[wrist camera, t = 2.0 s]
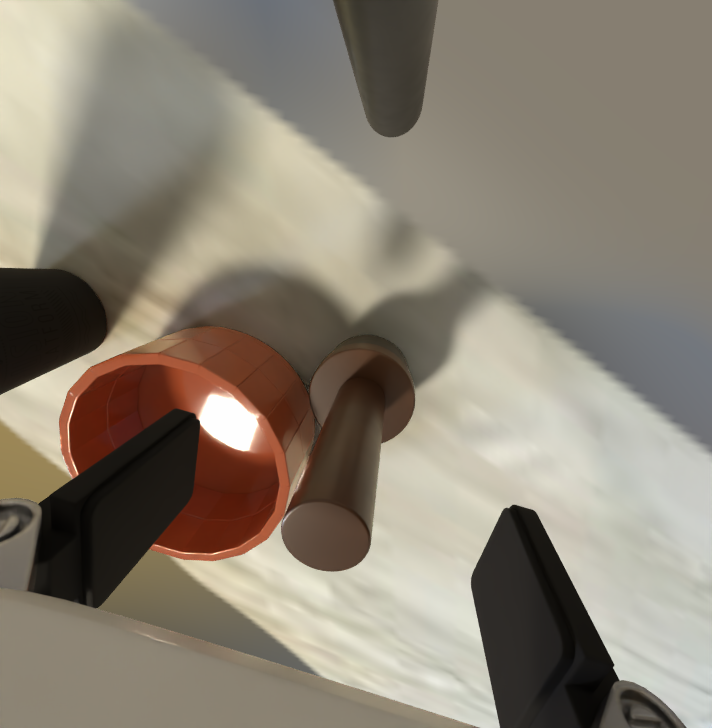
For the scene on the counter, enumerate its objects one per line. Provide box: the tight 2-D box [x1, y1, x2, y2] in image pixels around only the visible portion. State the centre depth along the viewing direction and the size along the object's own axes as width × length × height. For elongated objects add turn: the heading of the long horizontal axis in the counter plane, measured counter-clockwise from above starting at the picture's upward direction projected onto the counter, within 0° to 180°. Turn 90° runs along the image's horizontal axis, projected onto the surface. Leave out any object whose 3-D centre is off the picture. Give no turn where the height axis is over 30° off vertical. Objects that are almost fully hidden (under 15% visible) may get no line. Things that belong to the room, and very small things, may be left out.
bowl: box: [59, 326, 315, 561], centre depth 18 cm, size 11×11×5 cm
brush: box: [281, 335, 415, 571], centre depth 14 cm, size 5×5×11 cm
